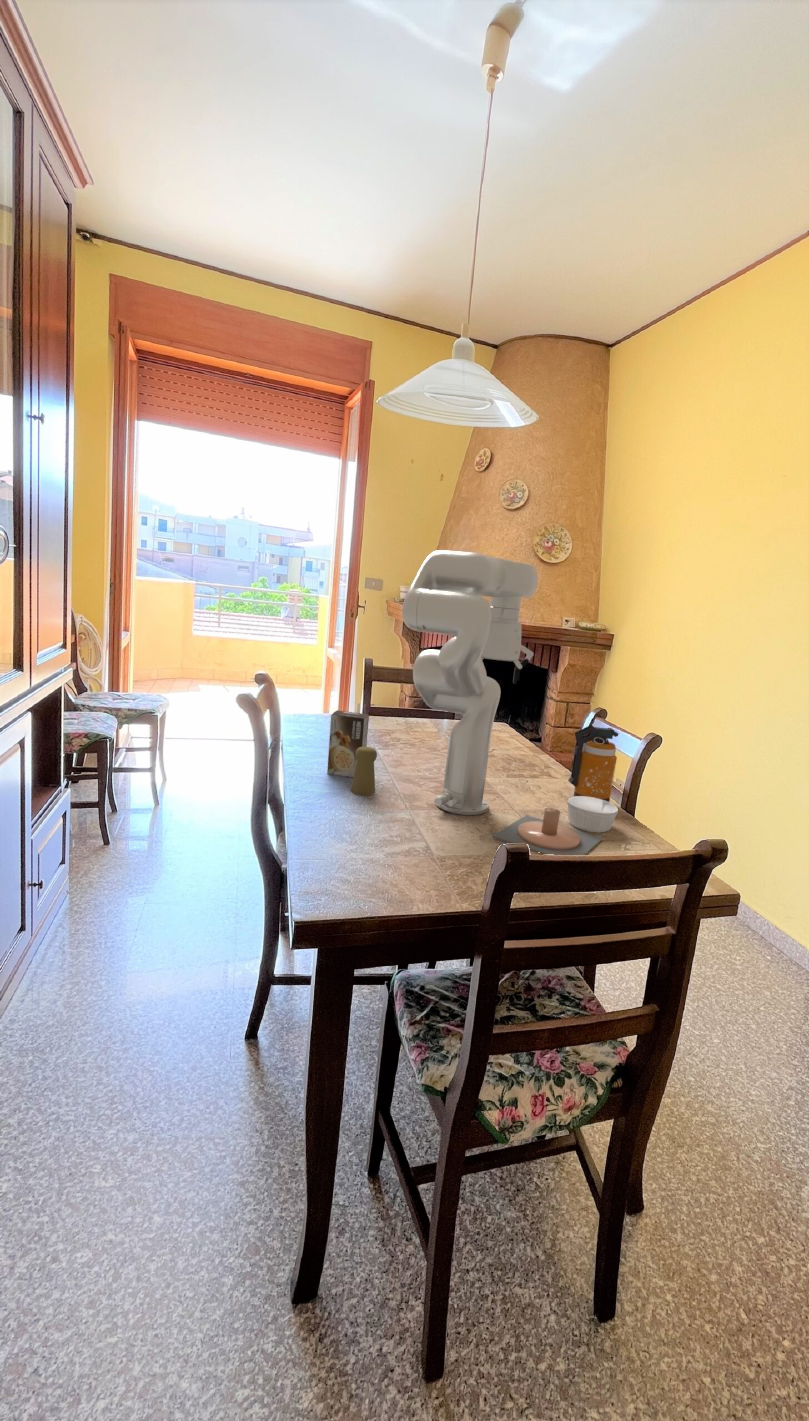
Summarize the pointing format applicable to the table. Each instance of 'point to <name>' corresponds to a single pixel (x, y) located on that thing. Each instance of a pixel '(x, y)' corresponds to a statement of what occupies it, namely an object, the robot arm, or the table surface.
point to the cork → (364, 771)
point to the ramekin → (591, 813)
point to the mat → (511, 836)
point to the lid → (549, 832)
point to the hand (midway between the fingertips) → (495, 681)
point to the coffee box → (346, 741)
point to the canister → (594, 763)
